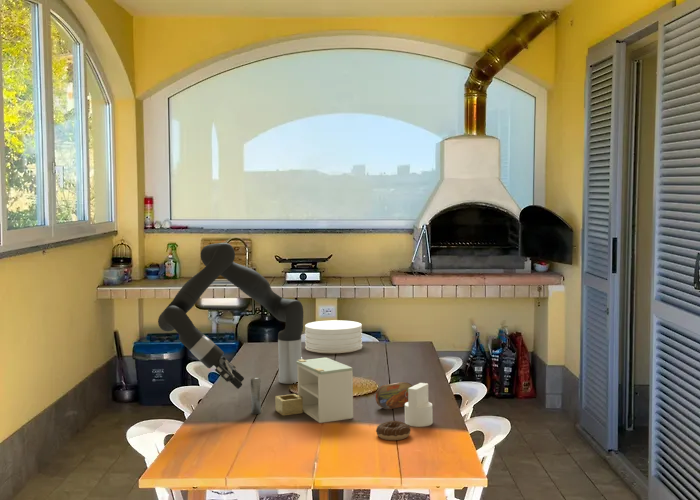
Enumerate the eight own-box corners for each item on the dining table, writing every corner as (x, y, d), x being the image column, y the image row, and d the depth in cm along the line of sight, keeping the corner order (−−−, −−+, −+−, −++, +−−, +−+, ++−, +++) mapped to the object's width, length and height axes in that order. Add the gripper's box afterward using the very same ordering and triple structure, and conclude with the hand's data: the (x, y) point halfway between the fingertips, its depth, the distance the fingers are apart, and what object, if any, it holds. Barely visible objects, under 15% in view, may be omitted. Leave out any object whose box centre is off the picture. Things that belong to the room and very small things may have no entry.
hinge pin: (259, 411, 261) (258, 376, 261) (262, 413, 259) (261, 378, 258) (250, 412, 260) (249, 377, 259) (253, 414, 257) (252, 379, 256)
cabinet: (330, 403, 270) (329, 356, 269) (354, 418, 251) (353, 367, 250) (296, 408, 264) (295, 359, 263) (318, 423, 246) (317, 371, 245)
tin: (378, 411, 260) (378, 386, 259) (374, 408, 263) (374, 384, 262) (415, 405, 267) (415, 381, 266) (411, 403, 270) (410, 379, 269)
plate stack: (304, 343, 386) (303, 321, 385) (358, 341, 389) (358, 319, 388) (306, 354, 358) (306, 330, 357) (365, 352, 361) (365, 328, 360)
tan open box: (297, 407, 265) (297, 393, 265) (304, 412, 259) (304, 398, 258) (275, 410, 262) (275, 396, 262) (282, 415, 255) (282, 401, 255)
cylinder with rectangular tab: (424, 428, 240) (424, 390, 239) (399, 424, 244) (399, 387, 244) (437, 420, 247) (436, 384, 246) (412, 417, 252) (412, 381, 251)
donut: (415, 440, 228) (415, 427, 228) (382, 443, 225) (382, 430, 225) (403, 430, 238) (403, 417, 238) (371, 433, 235) (371, 420, 235)
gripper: (212, 347, 250) (247, 380, 251) (216, 339, 264) (250, 371, 266) (196, 364, 250) (232, 397, 251) (201, 355, 264) (235, 386, 265)
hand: (241, 383), depth 258 cm, fingers open, 8 cm apart
